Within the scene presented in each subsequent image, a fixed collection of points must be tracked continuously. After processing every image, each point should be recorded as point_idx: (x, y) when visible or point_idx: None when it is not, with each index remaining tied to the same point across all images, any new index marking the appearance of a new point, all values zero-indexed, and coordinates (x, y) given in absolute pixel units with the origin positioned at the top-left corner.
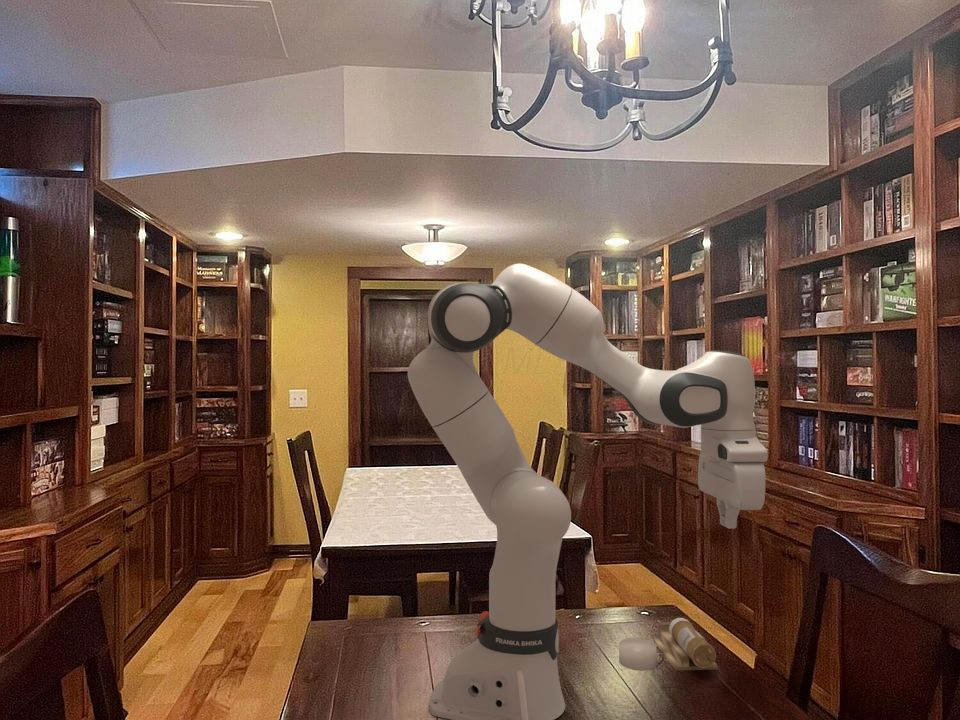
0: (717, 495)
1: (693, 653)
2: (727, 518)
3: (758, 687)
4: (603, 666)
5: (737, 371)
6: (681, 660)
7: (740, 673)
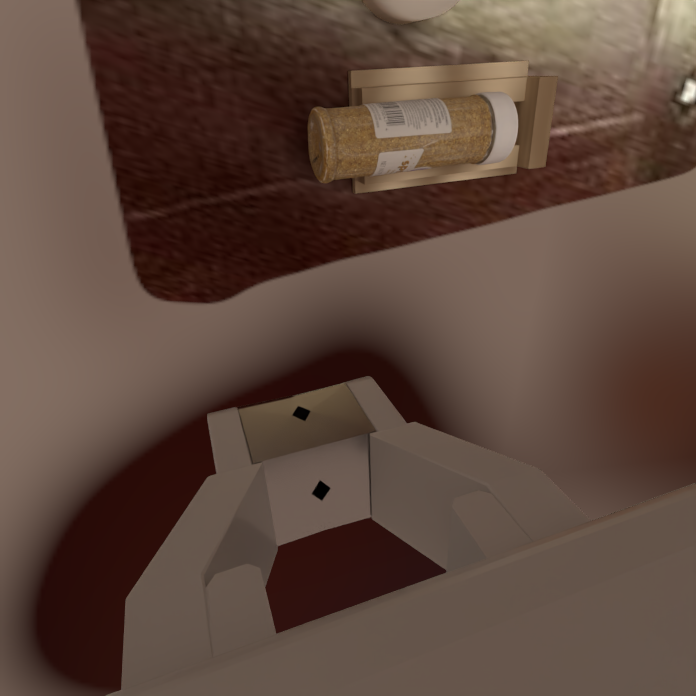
0: (451, 628)
1: (315, 112)
2: (216, 479)
3: (259, 261)
4: None
5: None
6: (357, 88)
7: (332, 240)
